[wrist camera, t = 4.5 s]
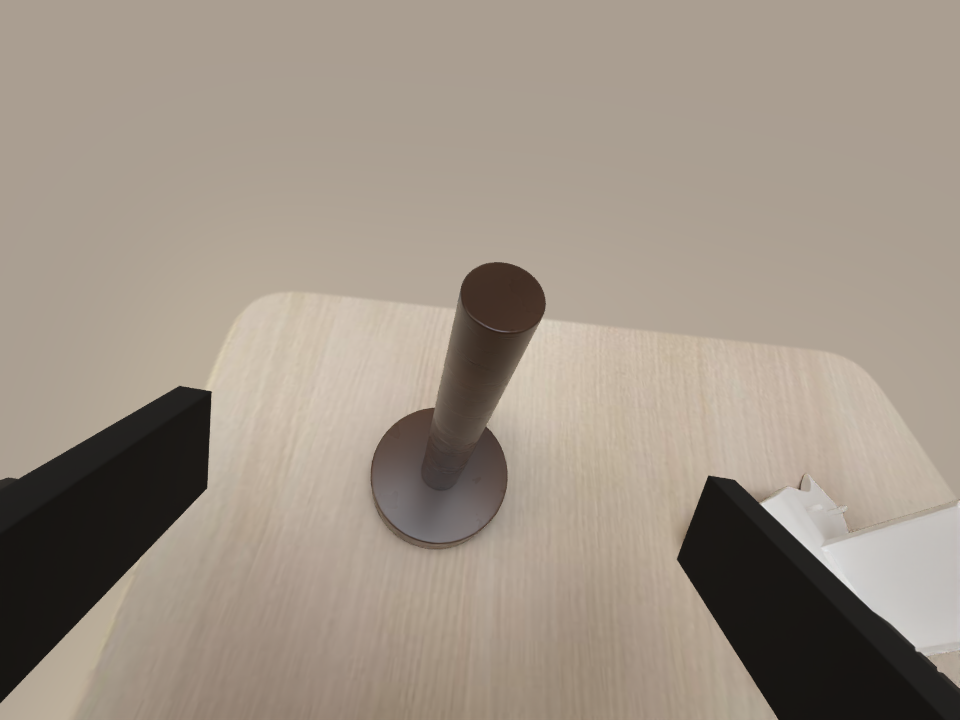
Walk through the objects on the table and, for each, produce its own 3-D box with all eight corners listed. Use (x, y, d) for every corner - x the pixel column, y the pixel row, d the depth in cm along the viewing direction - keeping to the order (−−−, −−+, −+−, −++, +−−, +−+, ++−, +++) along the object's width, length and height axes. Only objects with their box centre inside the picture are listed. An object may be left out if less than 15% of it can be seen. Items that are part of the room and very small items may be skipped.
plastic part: (675, 534, 24) (873, 478, 14) (807, 469, 27) (1047, 384, 17) (764, 696, 21) (1094, 771, 11) (901, 602, 24) (1257, 595, 14)
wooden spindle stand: (345, 506, 22) (269, 334, 8) (415, 400, 25) (445, 146, 11) (462, 575, 22) (590, 516, 8) (519, 458, 25) (683, 266, 11)
